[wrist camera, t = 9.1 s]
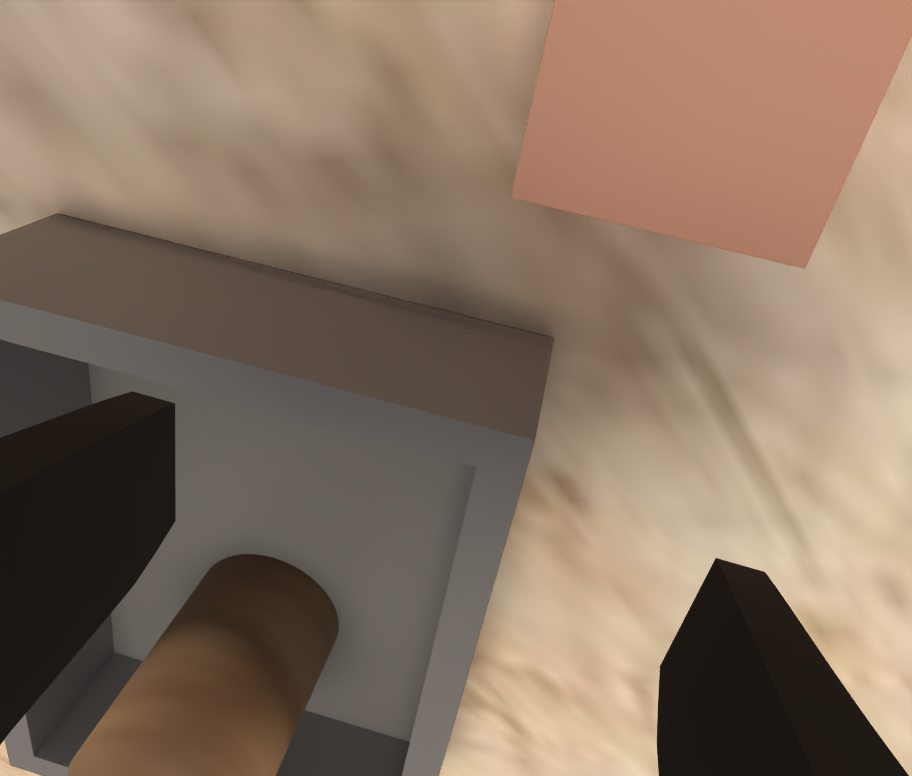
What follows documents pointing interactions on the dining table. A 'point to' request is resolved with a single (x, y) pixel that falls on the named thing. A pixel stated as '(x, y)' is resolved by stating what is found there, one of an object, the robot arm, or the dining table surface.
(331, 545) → the tote
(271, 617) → the walnut cylinder
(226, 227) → the dining table surface
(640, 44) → the cube
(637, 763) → the dining table surface
